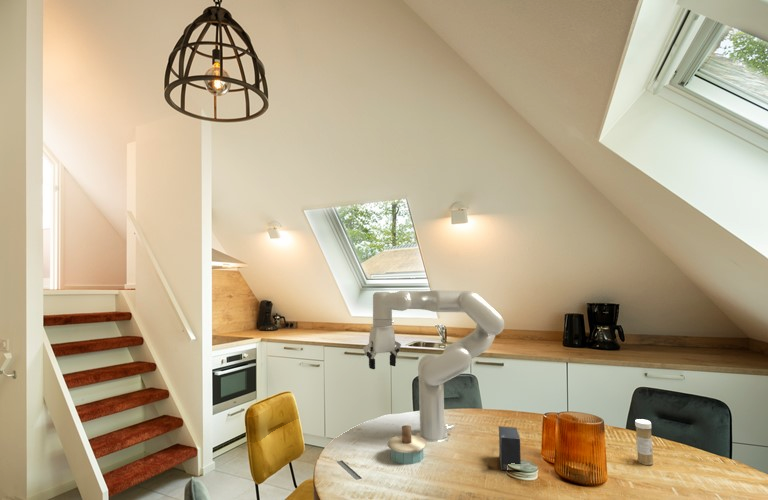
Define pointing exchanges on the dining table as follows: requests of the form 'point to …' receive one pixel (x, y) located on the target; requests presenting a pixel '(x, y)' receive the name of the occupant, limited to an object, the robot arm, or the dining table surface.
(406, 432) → the lid
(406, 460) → the bowl
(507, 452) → the small box
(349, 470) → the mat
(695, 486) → the dining table surface
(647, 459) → the sprinkles bottle
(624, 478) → the dining table surface
